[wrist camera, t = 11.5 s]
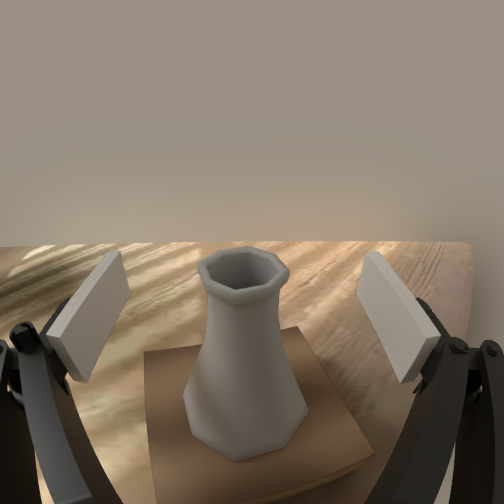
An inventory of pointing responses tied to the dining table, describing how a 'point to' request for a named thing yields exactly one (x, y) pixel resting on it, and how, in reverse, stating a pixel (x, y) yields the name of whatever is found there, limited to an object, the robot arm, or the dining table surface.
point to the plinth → (258, 467)
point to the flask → (243, 359)
